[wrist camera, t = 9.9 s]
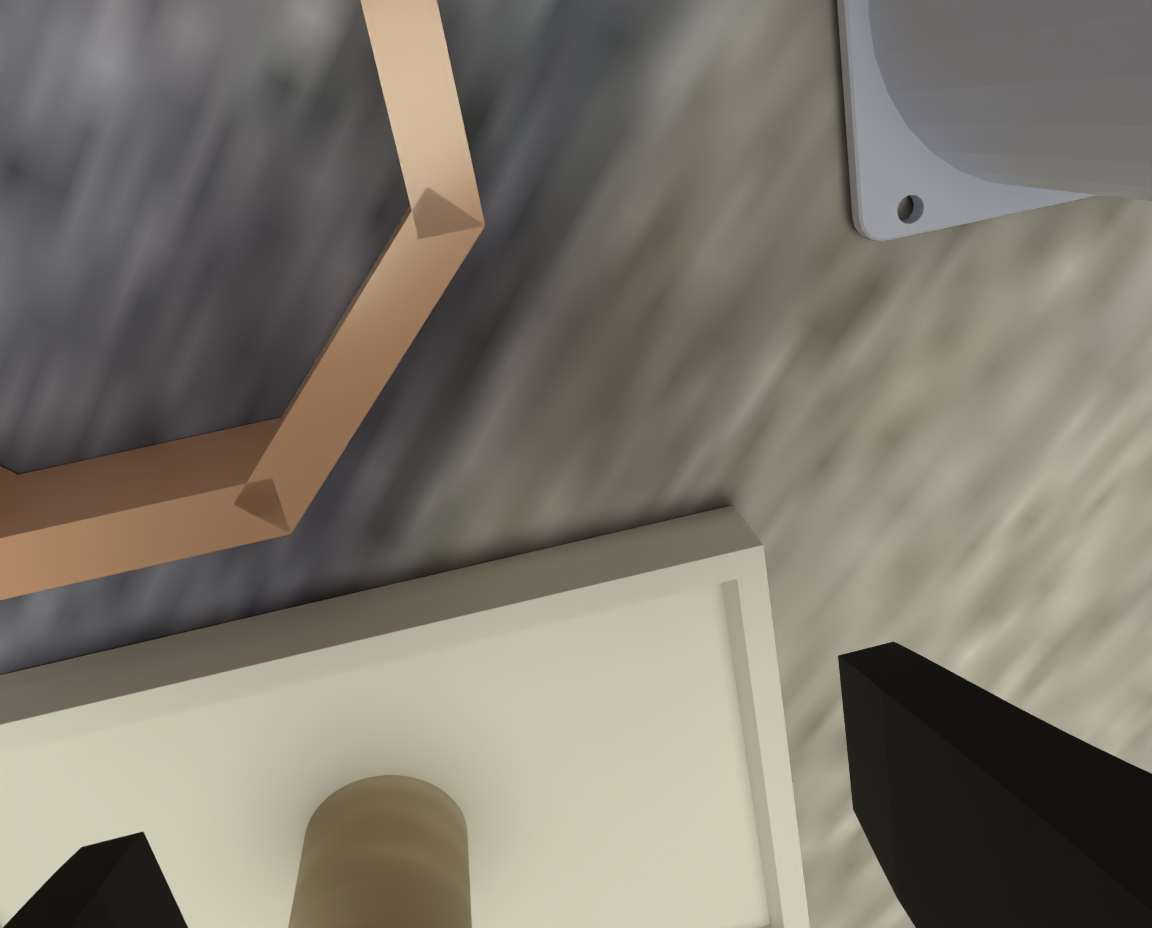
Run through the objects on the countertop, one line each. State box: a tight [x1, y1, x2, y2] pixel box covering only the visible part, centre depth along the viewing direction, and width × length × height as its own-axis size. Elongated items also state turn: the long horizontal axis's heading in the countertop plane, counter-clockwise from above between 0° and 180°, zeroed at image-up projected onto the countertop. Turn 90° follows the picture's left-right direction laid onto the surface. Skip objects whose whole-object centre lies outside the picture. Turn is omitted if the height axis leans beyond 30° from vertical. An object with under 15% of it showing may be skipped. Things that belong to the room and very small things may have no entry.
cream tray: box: [0, 505, 810, 928], centre depth 20 cm, size 18×12×2 cm, turn 100°
